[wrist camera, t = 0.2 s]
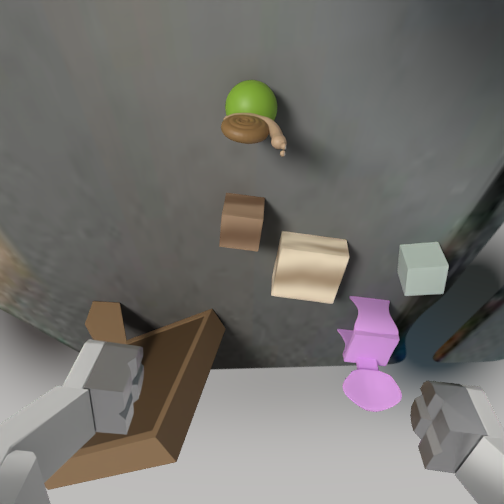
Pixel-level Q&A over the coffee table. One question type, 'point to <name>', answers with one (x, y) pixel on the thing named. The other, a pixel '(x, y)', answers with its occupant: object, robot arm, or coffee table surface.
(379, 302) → the toy chair
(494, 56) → the coffee table surface
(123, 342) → the photo frame
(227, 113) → the snail figurine
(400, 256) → the grey-green cube
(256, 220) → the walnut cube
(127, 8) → the coffee table surface
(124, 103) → the coffee table surface
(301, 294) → the beech block
